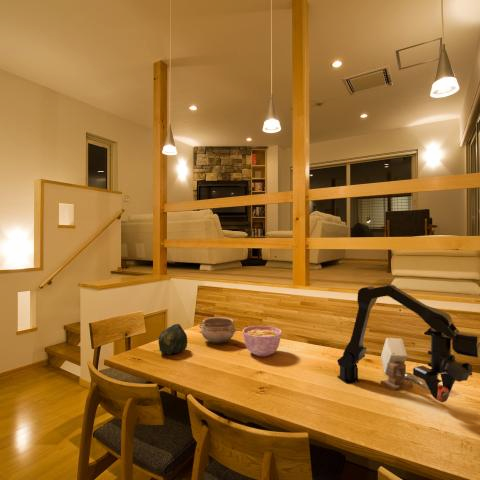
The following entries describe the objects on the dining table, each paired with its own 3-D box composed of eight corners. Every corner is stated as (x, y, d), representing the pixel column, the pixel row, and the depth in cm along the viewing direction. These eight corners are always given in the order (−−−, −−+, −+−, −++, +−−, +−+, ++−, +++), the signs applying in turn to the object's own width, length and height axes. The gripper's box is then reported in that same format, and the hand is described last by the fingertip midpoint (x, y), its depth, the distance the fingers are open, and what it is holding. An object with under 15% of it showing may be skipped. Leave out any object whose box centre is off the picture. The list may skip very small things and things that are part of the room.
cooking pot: (244, 340, 175) (244, 319, 176) (231, 350, 158) (231, 327, 158) (206, 335, 185) (207, 314, 185) (190, 344, 168) (190, 322, 168)
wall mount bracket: (392, 390, 116) (392, 368, 116) (380, 383, 122) (380, 362, 122) (412, 386, 119) (412, 365, 119) (400, 380, 125) (400, 359, 125)
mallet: (439, 404, 100) (439, 388, 100) (399, 383, 116) (399, 369, 116) (450, 402, 102) (450, 386, 102) (410, 381, 117) (410, 367, 117)
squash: (147, 343, 153) (164, 322, 150) (165, 336, 167) (181, 317, 163) (164, 365, 148) (182, 344, 145) (181, 356, 162) (198, 337, 159)
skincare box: (400, 375, 130) (408, 357, 119) (383, 374, 131) (390, 356, 121) (395, 356, 136) (403, 337, 126) (379, 355, 137) (385, 337, 127)
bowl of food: (288, 351, 157) (288, 329, 157) (270, 364, 140) (270, 339, 140) (254, 344, 168) (254, 323, 168) (234, 355, 151) (234, 332, 151)
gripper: (443, 361, 92) (443, 413, 92) (485, 355, 98) (485, 403, 98) (411, 349, 103) (411, 396, 103) (451, 344, 109) (452, 388, 108)
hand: (440, 396), depth 103 cm, fingers closed on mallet, 5 cm apart
